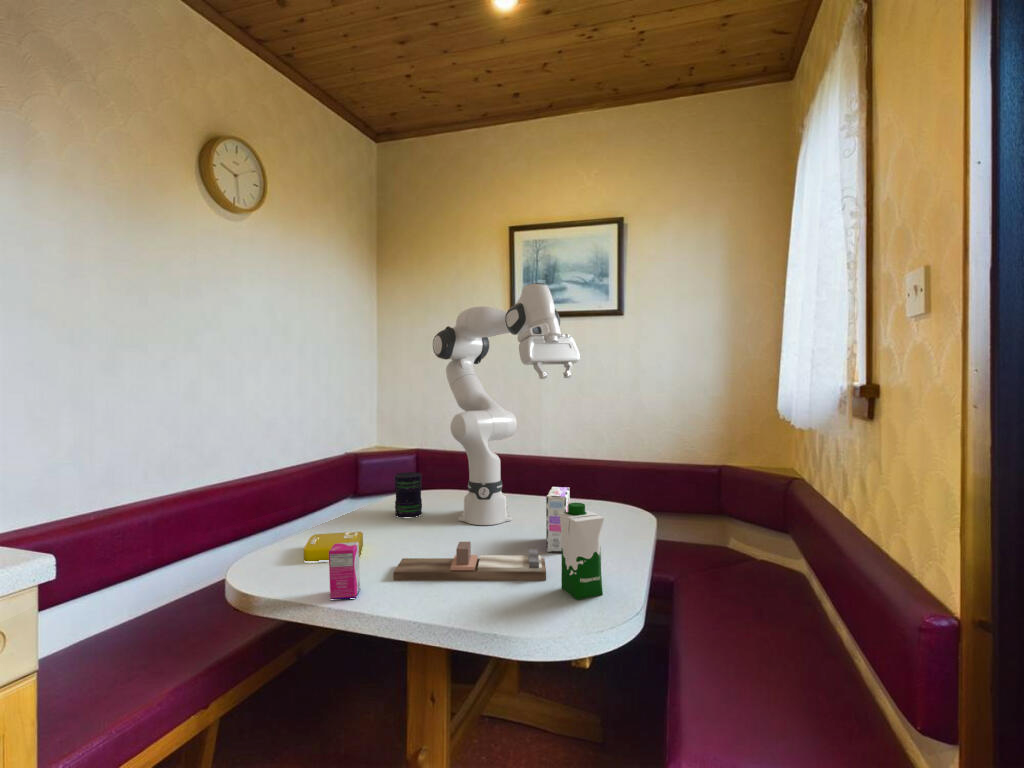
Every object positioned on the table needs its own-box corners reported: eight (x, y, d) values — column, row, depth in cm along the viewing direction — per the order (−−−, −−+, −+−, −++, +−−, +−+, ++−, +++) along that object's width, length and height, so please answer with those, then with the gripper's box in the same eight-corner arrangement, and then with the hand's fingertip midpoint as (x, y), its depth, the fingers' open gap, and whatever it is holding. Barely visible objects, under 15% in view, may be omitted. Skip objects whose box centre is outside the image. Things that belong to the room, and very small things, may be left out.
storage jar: (419, 518, 188) (418, 476, 188) (392, 518, 188) (391, 477, 188) (424, 511, 198) (423, 472, 198) (398, 511, 198) (398, 472, 198)
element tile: (311, 548, 156) (311, 532, 156) (363, 544, 159) (363, 529, 159) (302, 566, 141) (302, 548, 141) (359, 561, 144) (359, 544, 144)
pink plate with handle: (455, 557, 139) (455, 539, 139) (477, 557, 139) (477, 539, 139) (450, 570, 130) (450, 551, 130) (474, 570, 130) (474, 551, 130)
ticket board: (402, 565, 140) (402, 548, 140) (544, 565, 139) (544, 548, 139) (393, 580, 130) (393, 561, 130) (546, 580, 129) (546, 561, 129)
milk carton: (587, 582, 128) (587, 500, 127) (608, 596, 119) (608, 508, 119) (556, 588, 124) (555, 504, 124) (575, 602, 116) (574, 513, 116)
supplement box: (335, 590, 123) (334, 542, 123) (360, 589, 124) (360, 541, 124) (328, 601, 118) (328, 550, 118) (355, 599, 118) (355, 549, 118)
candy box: (566, 553, 148) (566, 496, 148) (545, 552, 150) (545, 495, 149) (570, 539, 162) (570, 486, 162) (551, 538, 163) (551, 485, 163)
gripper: (565, 338, 163) (575, 380, 160) (512, 337, 151) (522, 382, 148) (578, 330, 158) (589, 373, 155) (524, 328, 146) (535, 375, 143)
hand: (556, 378), depth 152 cm, fingers open, 8 cm apart
